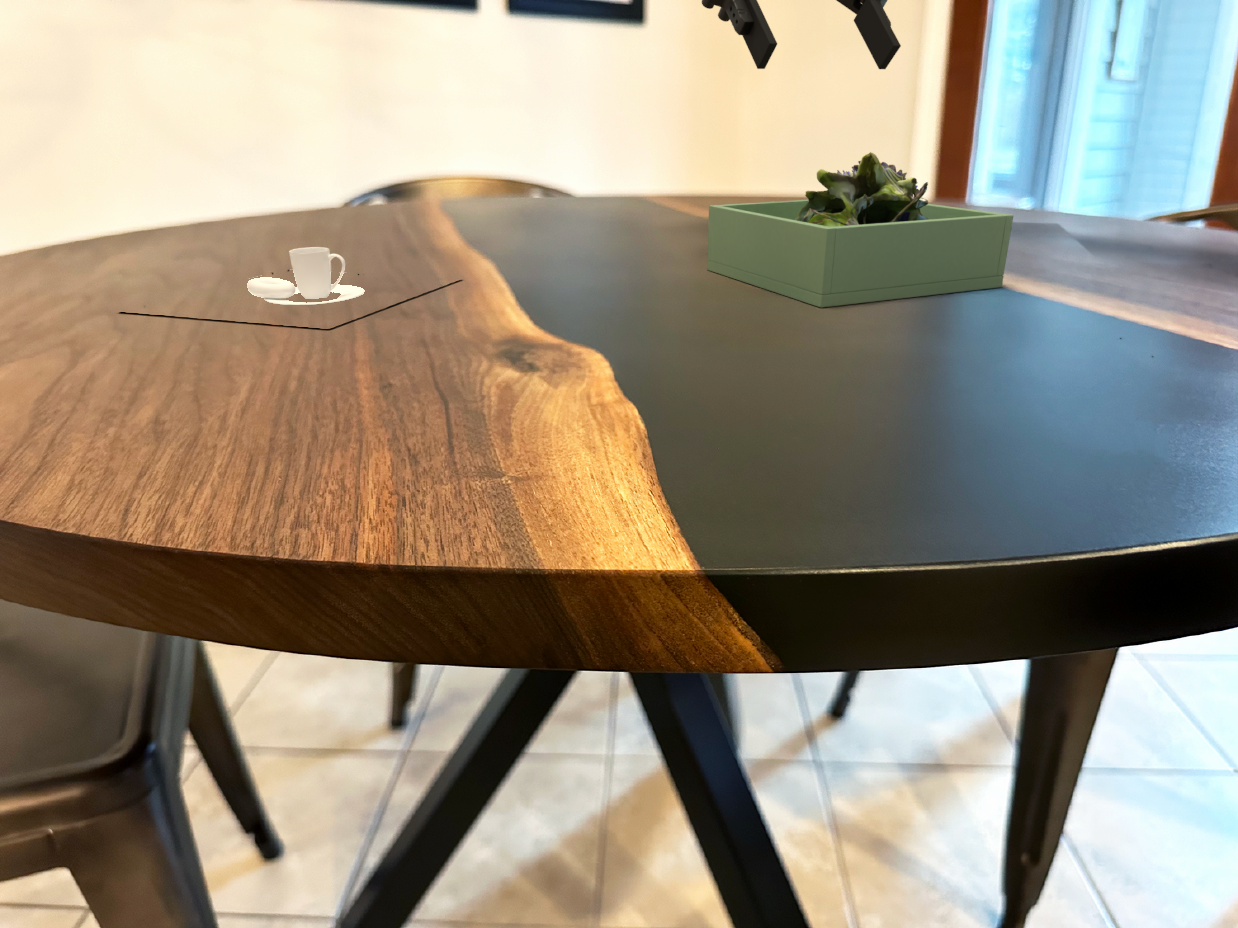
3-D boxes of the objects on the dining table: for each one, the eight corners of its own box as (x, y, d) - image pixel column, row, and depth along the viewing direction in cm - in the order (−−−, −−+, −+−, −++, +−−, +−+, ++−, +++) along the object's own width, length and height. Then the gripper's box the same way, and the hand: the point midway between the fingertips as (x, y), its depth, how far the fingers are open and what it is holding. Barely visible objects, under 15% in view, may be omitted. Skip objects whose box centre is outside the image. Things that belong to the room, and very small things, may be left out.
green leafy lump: (859, 318, 81) (947, 213, 77) (864, 323, 70) (966, 202, 67) (767, 246, 81) (849, 139, 78) (759, 241, 71) (853, 116, 67)
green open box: (863, 255, 88) (870, 196, 85) (1002, 287, 72) (1014, 214, 69) (706, 269, 81) (708, 205, 79) (820, 307, 65) (827, 228, 63)
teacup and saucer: (235, 306, 68) (225, 255, 66) (299, 288, 75) (291, 241, 73) (326, 313, 65) (318, 260, 63) (384, 293, 72) (378, 245, 70)
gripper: (836, -57, 92) (914, 88, 85) (628, -71, 83) (696, 90, 76) (873, -127, 85) (960, 25, 78) (651, -150, 76) (727, 18, 70)
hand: (830, 57), depth 77 cm, fingers open, 13 cm apart
